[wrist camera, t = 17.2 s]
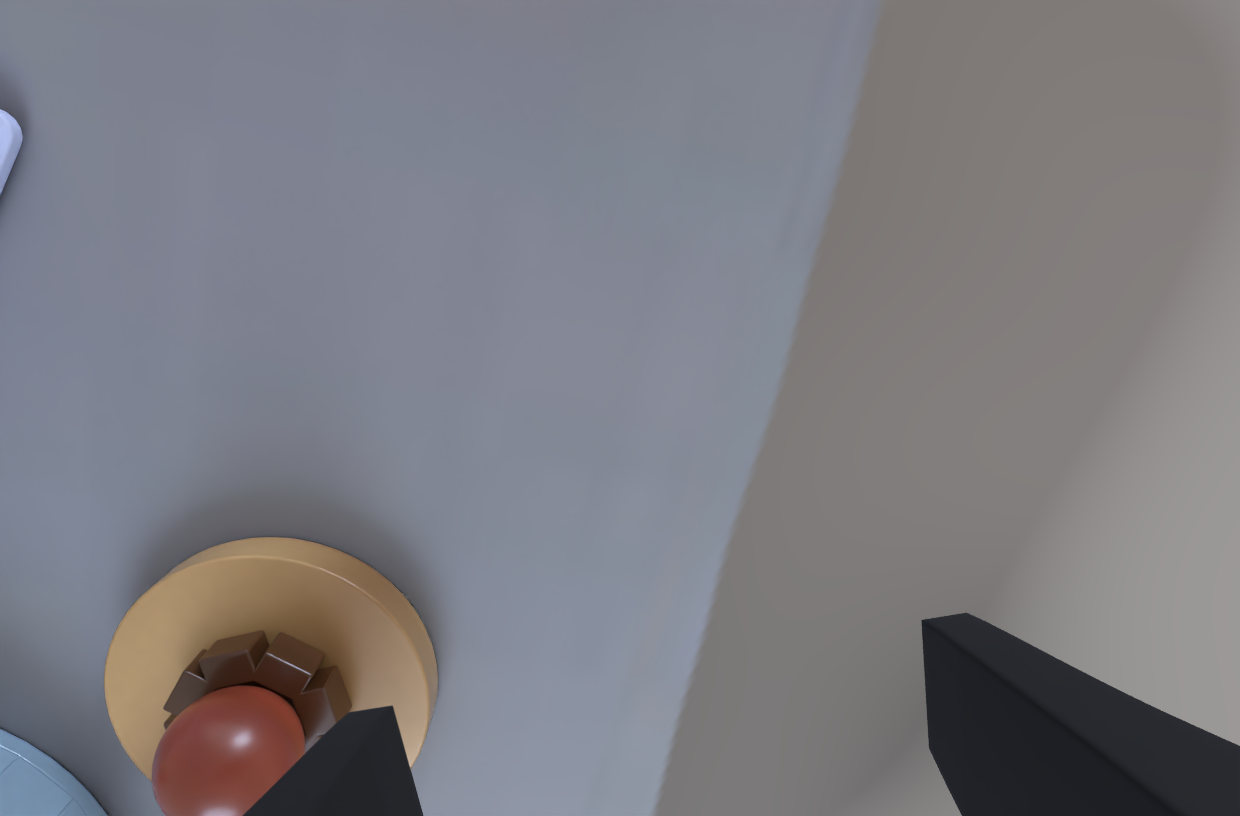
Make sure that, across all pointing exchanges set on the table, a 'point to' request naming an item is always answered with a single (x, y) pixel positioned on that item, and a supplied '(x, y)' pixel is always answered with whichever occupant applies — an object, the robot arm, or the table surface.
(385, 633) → the holder
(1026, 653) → the robot arm
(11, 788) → the light blue bowl
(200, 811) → the ball
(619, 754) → the table surface
